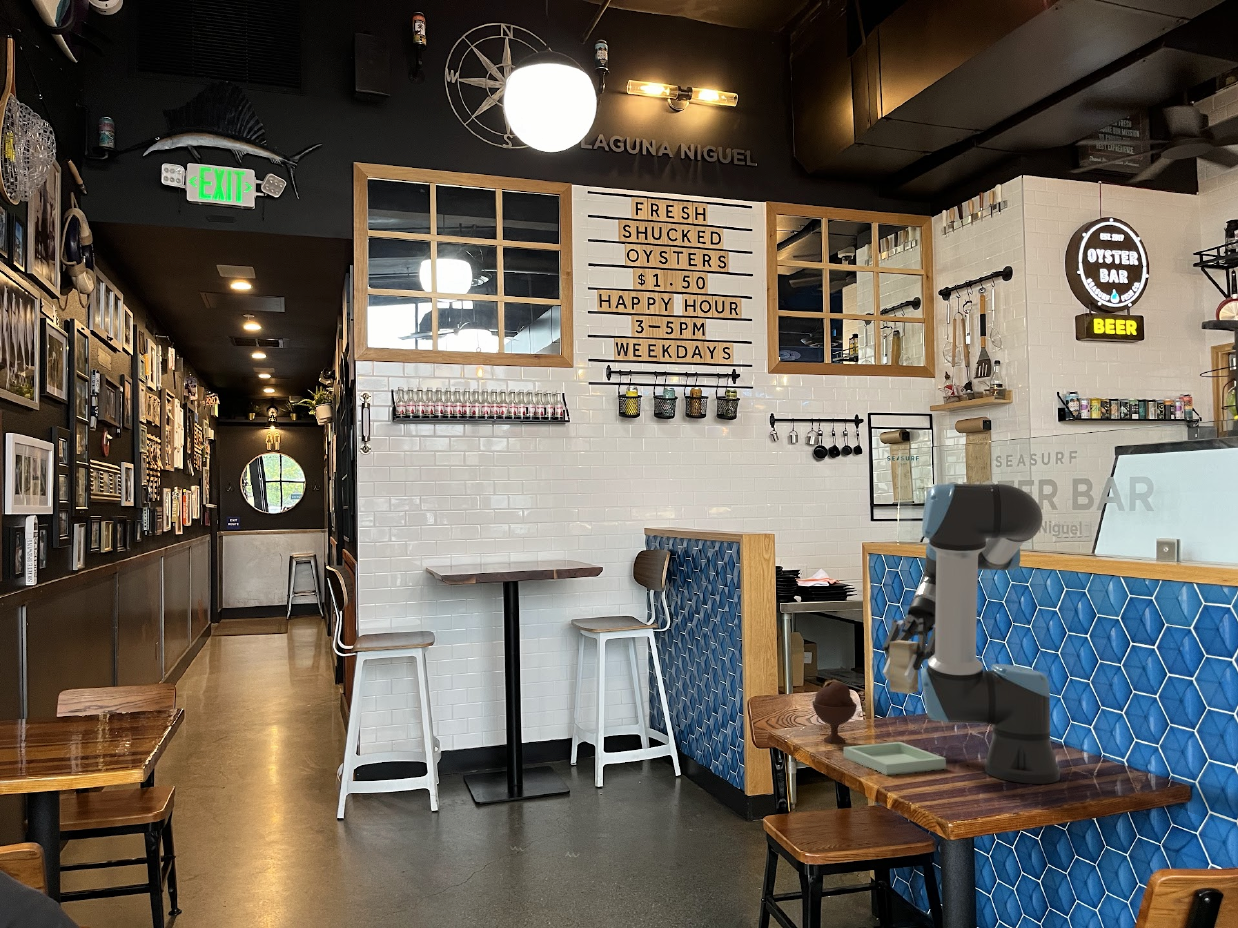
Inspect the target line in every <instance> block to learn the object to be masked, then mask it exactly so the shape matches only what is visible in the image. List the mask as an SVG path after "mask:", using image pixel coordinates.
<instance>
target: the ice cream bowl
mask: <svg viewBox="0 0 1238 928" xmlns="http://www.w3.org/2000/svg"><path fill="white" fill-rule="evenodd" d="M811 704H812V708H813V709H814V712H815V714H816V716H817V717H818V718H819V719H820V720H821V721H822V722H824V723H825V724H827V725H829V726H830V734H829V735H827V736H824V737H823V742H824V743H827V744H831V745H842V744H841V743H843V744H846V743H845V742H846V739H845V738H843V737H842V736H841V735H839V727H840V726H841V725H843V724H845V723H847V722H849V721H850V720H851V719H852V718H853V717H854V716H855V713H856V712H857V707H858V704H856V702H854V699H853V698H852V697H851V690H850V688H849V686H848V685H847V684H846V683H844V682H843V681H833V682H831V683H830V684H829V685H828V686H825V687H824V686H823V687H822V688H820V689H819V690H818V691H817V692H816V694H815V697H814V700H812V701H811ZM839 743H840V744H839Z"/></svg>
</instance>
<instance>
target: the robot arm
mask: <svg viewBox="0 0 1238 928" xmlns="http://www.w3.org/2000/svg"><path fill="white" fill-rule="evenodd" d="M922 515H923V516H922V527H921V529H922V532H921V533H922V535H923V537H924V538H926V539H928V540H927V544H926V548H925V563H924V570H923V575H922V577H921V579H920V582H919V585H918V587H917V589H916V591H915V593H914V596H913V598H912V601H911V603H910V605H909V607H908V609H907V614H906V616H905V617H903V619H901V620H898V619H896V618H893V619H892V622H891V623H892V624H891V627H890V630H889V632H888V635H887V637H886V638H885V641H884V643H883V645H882V649H883V651H884V653H885V654H886V657H885V659H884V664H885V665H884V668H883V670H882V674H883V676H884V677H885V680H889V681H890V642H892V641H898V640H901V641H909V640H911V639H913V637H914V636H918V637H917V642H918V645H917V652H916V653H917V656H916V654H913V656H912V658H911V660H910V663H909V665H908V668H907V670H906V672H905V675H904V676H905V677H906V679H907V681H908V682H910V683H911V682H912V679H913V677H914V674H915V672H916V670H918V671H919V670H920V677H921V679H920V680H921V685H922V692H923V693H922V694H923V699H924V700H923V701H924V705H925V711H926V714H927V716H928V718H929V719H931V720H932V721H934V722H942V723H943V722H944V723H948V724H951V723H953V724H954V723H955V724H956V723H958V724H972V725H973V724H975V725H976V724H977V725H992V738H991V741H990V744H989V747H988V753H987V756H985V759H984V772H985V773H986V774H987V775H990V776H991V777H994V778H997V779H1000V780H1004V781H1008V782H1014V783H1015V782H1016V783H1021V784H1022V783H1023V784H1032V785H1033V784H1034V785H1037V784H1039V785H1041V784H1042V785H1045V784H1053V783H1056V782H1058V781H1059V780H1060V779H1061V772H1060V770H1061V769H1060V766H1059V764H1058V763H1057V759H1056V755H1055V752H1054V748H1053V746H1052V743H1051V718H1050V717H1051V713H1050V712H1051V707H1050V705H1051V704H1050V701H1051V699H1050V698H1051V693H1050V682H1049V679H1048V677H1047V676H1046V674H1044V673H1042V672H1041V671H1037V670H1035V669H1032V668H1026V667H1022V666H1017V665H1012V664H1004V663H993V664H992V665H991V667H990V670H984V666H983V665H984V664H983V663H982V661H980V659H978V658H977V622H978V621H977V620H978V613H977V612H978V574H979V573H978V571H979V570H981V571H982V570H985V571H987V570H988V571H990V570H991V571H1003V572H1004V571H1005V572H1006V571H1014V570H1017V569H1019V567H1020V563H1021V547H1022V546H1023V544H1024V543H1025V542H1028V541H1029V540H1031V539H1033V538H1034V537H1035V536H1036V535H1037V533H1038V532H1039V531H1040V529H1041V527H1042V524H1043V520H1044V519H1043V513H1042V509H1041V506H1040V505H1039V503H1038V501H1036V499H1035V498H1034V497H1033V496H1031V494H1029V493H1027V492H1026V491H1024V490H1023V489H1021V488H1019V487H1016V486H1013V485H1009V484H1002V483H993V484H987V483H986V484H985V483H984V484H981V483H979V484H978V483H951V482H950V483H948V484H945V483H944V484H935V485H932V486H931V487H930V488H929V490H928V491H927V494H926V497H925V501H924V507H923V514H922ZM903 626H904V627H903ZM930 632H931V633H930ZM929 633H930V636H929ZM928 636H929V637H928ZM928 638H929V640H928ZM927 640H928V642H927ZM925 660H927V666H926V667H925V666H924V667H922V664H923V662H924V661H925ZM921 667H922V668H921Z"/></svg>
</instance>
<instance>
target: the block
mask: <svg viewBox="0 0 1238 928" xmlns="http://www.w3.org/2000/svg"><path fill="white" fill-rule="evenodd" d="M917 645H918V641H909V640H908V641H901V640H898V641H892V642H890V679H889V692H894V693H900V694H906V695H911V694H914V693H919V690H920V689H919V670H916V672H915V674H914V677H913V679H912V682H911V683H910V682H908V681H907V679H906V677H905V676H904V675H905V672H906V670H907V668H908V665H909V663H910V660H911V658H912V656H913V654H916V656H917V653H916V652H917Z"/></svg>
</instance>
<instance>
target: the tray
mask: <svg viewBox="0 0 1238 928" xmlns="http://www.w3.org/2000/svg"><path fill="white" fill-rule="evenodd" d="M843 759H846V760H848V761H850V762H853V763H856V764H858V765H860V766H862V765H863V766H862V767H864V768H867V767H869V768H872V769H874V770H877V771H878V772H877V773H879V772H881V773H882V775H883V774H885V775H884V776H886V775H890V776H897V775H896V774H899V775H905V774H915V772H917V773H923V772H924V773H925V771H926V772H932V771H931V770H935V771H941V770H942V769H944V770H946V769H947V760H946V757H943V756H940V755H938V754H934V753H932V752H929V751H926V750H923V749H921V748H919V747H915V746H912V745H909V744H908V743H904V742H901V741H893V742H885V743H882V742H881V743H874V744H873V743H871V744H864V745H852V746H850V745H849V746H844V747H843ZM869 768H868V769H869ZM872 769H871V770H872ZM874 770H873V771H874ZM942 771H943V770H942ZM881 773H880V774H881Z"/></svg>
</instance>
